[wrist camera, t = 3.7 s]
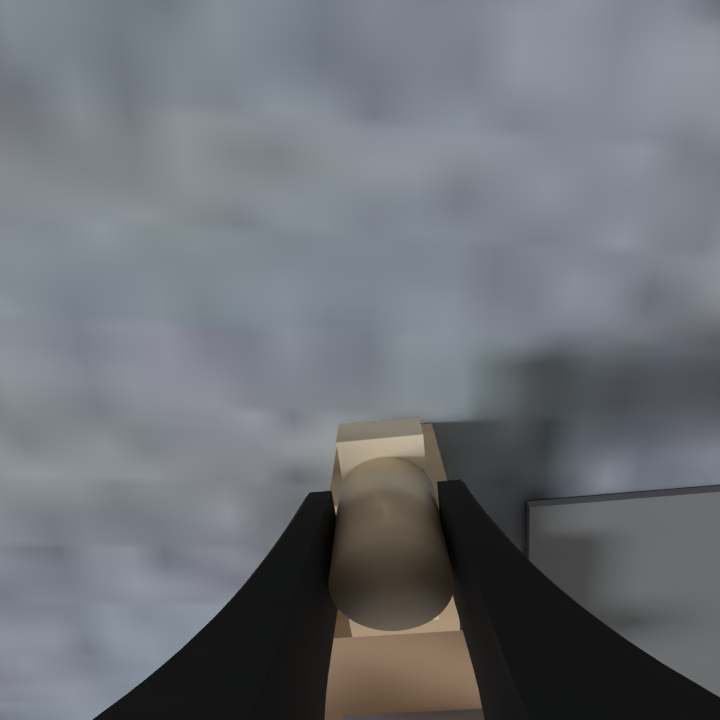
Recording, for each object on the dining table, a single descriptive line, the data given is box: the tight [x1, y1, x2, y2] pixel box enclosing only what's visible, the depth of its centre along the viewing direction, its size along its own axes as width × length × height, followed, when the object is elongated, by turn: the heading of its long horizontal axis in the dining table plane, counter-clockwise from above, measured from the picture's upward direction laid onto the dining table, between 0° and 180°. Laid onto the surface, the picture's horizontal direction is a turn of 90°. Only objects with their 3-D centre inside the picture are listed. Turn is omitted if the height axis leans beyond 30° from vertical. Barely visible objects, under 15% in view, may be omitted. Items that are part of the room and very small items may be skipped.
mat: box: [526, 485, 720, 697], centre depth 21 cm, size 14×12×1 cm
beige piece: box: [328, 417, 454, 631], centre depth 12 cm, size 7×3×4 cm, turn 7°
